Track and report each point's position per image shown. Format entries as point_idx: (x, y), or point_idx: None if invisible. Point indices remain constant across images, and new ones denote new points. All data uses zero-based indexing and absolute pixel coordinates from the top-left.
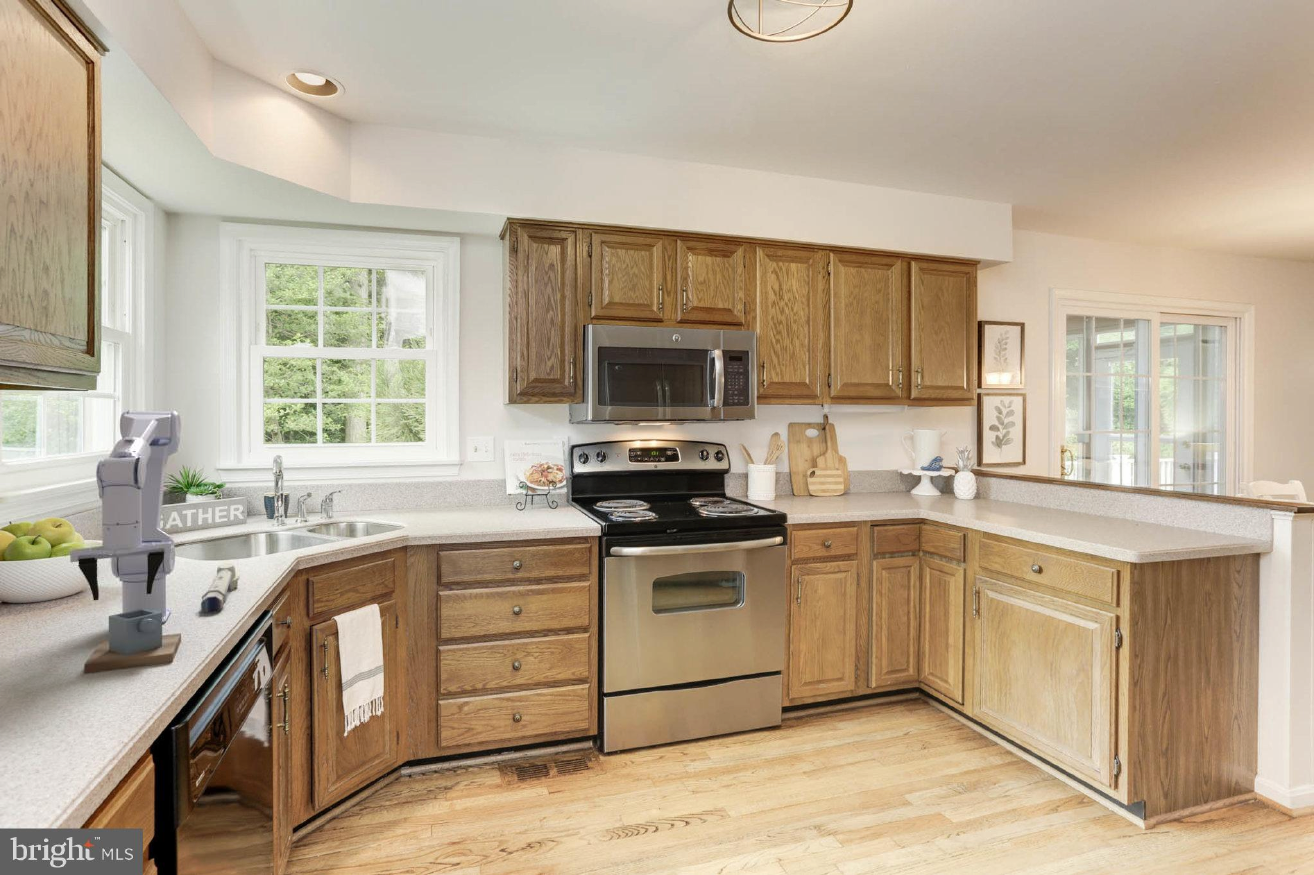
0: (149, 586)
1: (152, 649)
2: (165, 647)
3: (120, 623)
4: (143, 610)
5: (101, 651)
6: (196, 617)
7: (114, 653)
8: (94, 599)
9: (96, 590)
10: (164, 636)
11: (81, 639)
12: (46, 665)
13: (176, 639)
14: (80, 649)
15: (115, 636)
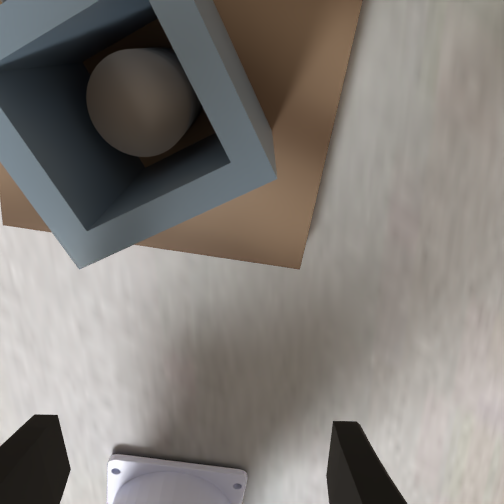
0: (7, 453)
1: None
2: None
3: (204, 15)
4: (74, 210)
5: (300, 122)
6: None
7: (250, 47)
8: (356, 425)
9: (359, 474)
10: None
11: (344, 415)
12: (477, 171)
13: None
14: (355, 310)
15: (242, 78)
